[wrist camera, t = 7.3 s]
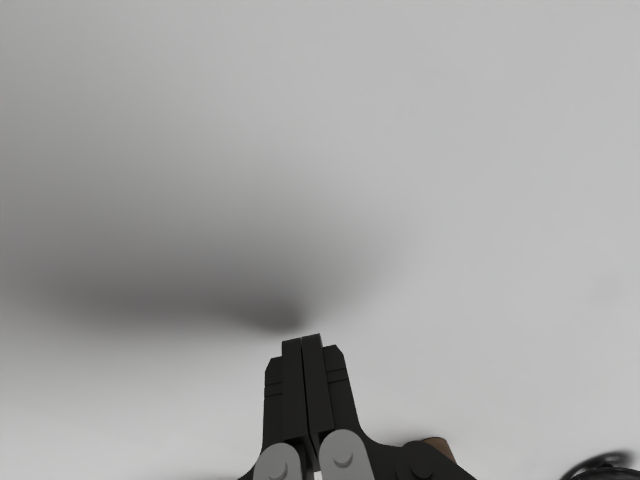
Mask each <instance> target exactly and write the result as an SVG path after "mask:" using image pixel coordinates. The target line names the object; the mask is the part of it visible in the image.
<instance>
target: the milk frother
mask: <svg viewBox="0 0 640 480" xmlns="http://www.w3.org/2000/svg"><path fill="white" fill-rule="evenodd" d="M570 480H640V471H637V470H633V469H628V468H621V467H613V466H612V465H611V464H609V463H605V464H603V465H601V466H599V467H597V468H596V469H591V470H588V471H585V472H582V473H580V474H577V475H576V476H574V477H573V478H572V479H570Z"/></svg>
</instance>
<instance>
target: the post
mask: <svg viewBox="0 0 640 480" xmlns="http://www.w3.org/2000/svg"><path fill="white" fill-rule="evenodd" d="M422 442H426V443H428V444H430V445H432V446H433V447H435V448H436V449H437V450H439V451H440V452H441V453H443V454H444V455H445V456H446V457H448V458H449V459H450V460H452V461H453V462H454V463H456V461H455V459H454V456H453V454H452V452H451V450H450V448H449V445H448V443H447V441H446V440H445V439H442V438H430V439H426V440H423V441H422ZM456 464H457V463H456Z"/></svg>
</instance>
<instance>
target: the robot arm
mask: <svg viewBox="0 0 640 480" xmlns="http://www.w3.org/2000/svg"><path fill="white" fill-rule="evenodd" d="M264 398H265V399H264V416H263V443H262V449H261V453H260V456H259V458H258V460H257V462H256V463H255V465H254V466H253V467H252V468H251V470H250V471H249V472H247V473H246V474H245V475H244V476H242V477H241V478H239V479H238V480H314V472H317V471H321V473H322V479H323V480H477V479H475V478H474V477H473V476H471V475H470V474H469V473H468V472H466V471H465V470H464V469H462V468H461V467H460V466H458V465H457V464H456V463H454V462H453V461H452V460H450V459H449V458H448V457H446V456H445V455H444V454H443V453H441V452H440V451H439V450H437V449H436V448H435V447H433V446H432V445H430V444H428V443H426V442H422V441H411V442H408V443H406V444H405V445H403V446H402V447H395V446H389V445H383V444H379V443H377V442H375V441H373V440H371V439H370V438H369V437H368V436H367V435H366V434H365V433H364V432H363V430H362V429H361V427H360V424H359V421H358V417H357V412H356V408H355V404H354V399H353V395H352V390H351V386H350V382H349V377H348V373H347V369H346V364H345V360H344V356H343V354H342V352H341V351H340V350H339V348H338V347H337V346H336V345H331V346H326V347H323V345H322V341H321V336H320V333H318V334H314V335H309V336H304V337H302V340H301V338H295V339H291V340H286V341H282V356H280V357H276V358H271V359H270V362H269V364H268V366H267V368H266V371H265V388H264Z"/></svg>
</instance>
